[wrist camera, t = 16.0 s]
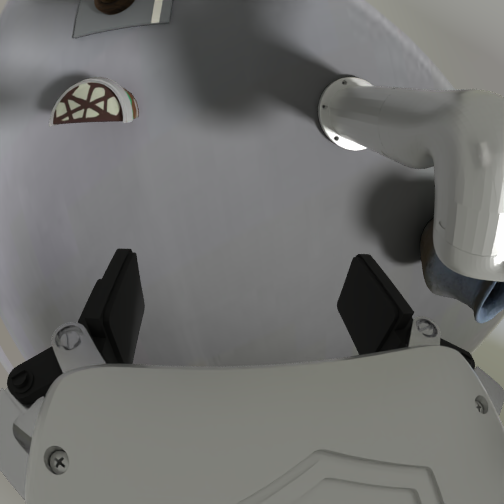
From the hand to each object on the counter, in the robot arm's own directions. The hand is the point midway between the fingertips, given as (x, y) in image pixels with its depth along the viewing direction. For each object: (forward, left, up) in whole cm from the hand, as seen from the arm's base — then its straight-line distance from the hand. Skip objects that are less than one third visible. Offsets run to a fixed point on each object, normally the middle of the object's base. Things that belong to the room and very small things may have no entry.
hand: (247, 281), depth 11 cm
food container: (+18, -8, -34) cm, 39 cm away
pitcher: (-50, +13, -34) cm, 62 cm away
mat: (+18, -26, -33) cm, 46 cm away
